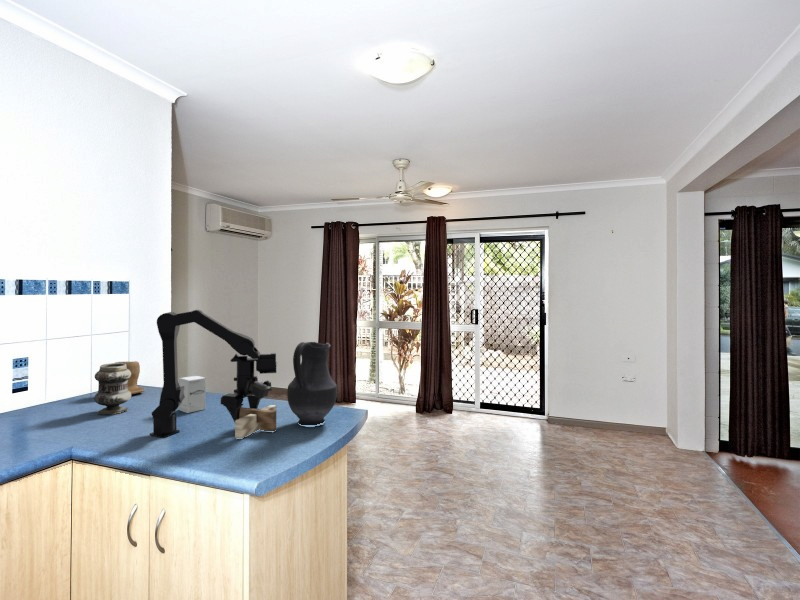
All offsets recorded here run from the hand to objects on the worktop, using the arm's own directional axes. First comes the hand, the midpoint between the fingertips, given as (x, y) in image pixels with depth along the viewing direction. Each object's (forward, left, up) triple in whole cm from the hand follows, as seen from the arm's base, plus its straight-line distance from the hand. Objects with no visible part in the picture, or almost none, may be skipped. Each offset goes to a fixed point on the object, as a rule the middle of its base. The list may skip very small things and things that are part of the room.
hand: (245, 419), depth 155 cm
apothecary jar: (+1, +59, -3) cm, 60 cm away
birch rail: (0, -5, -3) cm, 6 cm away
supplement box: (+13, +33, -3) cm, 36 cm away
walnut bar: (0, -5, -3) cm, 6 cm away
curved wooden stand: (+22, +77, -3) cm, 81 cm away
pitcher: (+11, -19, -3) cm, 22 cm away
